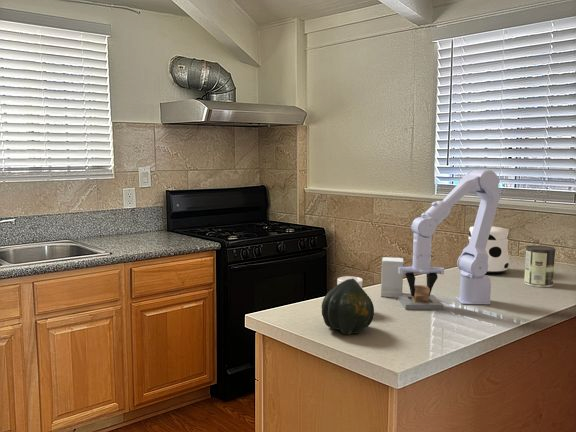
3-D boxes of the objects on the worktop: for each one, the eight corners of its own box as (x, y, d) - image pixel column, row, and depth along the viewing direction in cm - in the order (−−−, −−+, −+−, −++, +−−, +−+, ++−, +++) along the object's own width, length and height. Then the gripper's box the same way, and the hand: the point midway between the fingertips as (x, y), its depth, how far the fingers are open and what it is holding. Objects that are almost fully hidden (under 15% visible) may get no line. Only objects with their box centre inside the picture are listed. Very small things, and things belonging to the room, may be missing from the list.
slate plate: (433, 299, 194) (433, 295, 193) (443, 309, 182) (443, 304, 182) (397, 299, 194) (398, 294, 193) (405, 309, 182) (405, 304, 181)
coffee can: (546, 281, 222) (548, 245, 220) (558, 287, 212) (560, 250, 210) (519, 280, 222) (521, 244, 220) (529, 287, 212) (532, 249, 210)
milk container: (512, 270, 241) (515, 227, 239) (503, 278, 226) (506, 233, 224) (470, 265, 250) (472, 224, 248) (459, 272, 236) (461, 229, 233)
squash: (322, 321, 151) (358, 277, 153) (305, 307, 165) (337, 267, 167) (359, 352, 155) (393, 309, 157) (339, 336, 169) (370, 297, 171)
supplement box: (402, 298, 195) (403, 261, 194) (380, 296, 197) (381, 260, 195) (402, 292, 202) (403, 257, 201) (381, 291, 204) (382, 256, 202)
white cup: (364, 308, 183) (364, 277, 182) (358, 315, 175) (359, 283, 174) (340, 305, 185) (340, 275, 184) (333, 312, 178) (334, 280, 177)
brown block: (425, 299, 190) (425, 285, 189) (429, 303, 185) (429, 288, 184) (411, 299, 189) (412, 285, 189) (415, 303, 185) (415, 288, 184)
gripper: (402, 256, 182) (400, 298, 183) (447, 257, 182) (445, 298, 183) (397, 252, 189) (396, 292, 190) (441, 252, 189) (439, 293, 190)
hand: (420, 295), depth 187 cm, fingers closed on brown block, 4 cm apart
